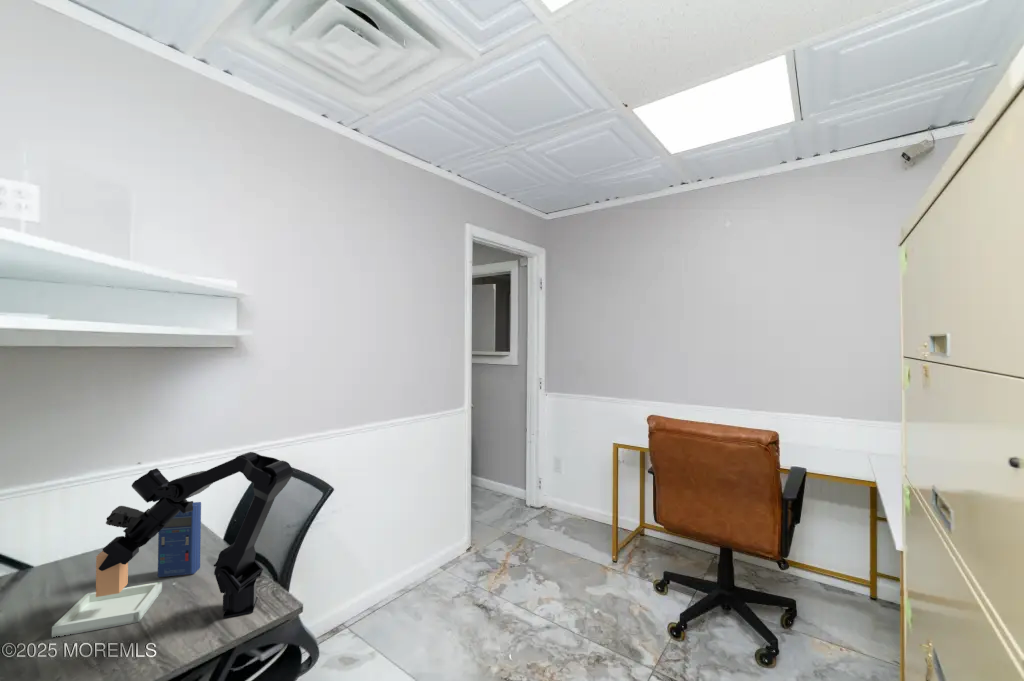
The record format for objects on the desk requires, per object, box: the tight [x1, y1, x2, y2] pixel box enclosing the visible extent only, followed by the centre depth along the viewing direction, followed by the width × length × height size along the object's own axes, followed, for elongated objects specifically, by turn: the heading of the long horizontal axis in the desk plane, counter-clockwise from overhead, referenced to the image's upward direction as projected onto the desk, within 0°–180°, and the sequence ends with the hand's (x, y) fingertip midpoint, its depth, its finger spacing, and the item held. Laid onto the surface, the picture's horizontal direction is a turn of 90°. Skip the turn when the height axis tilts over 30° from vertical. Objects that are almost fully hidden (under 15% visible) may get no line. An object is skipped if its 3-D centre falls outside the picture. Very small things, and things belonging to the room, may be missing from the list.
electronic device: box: [157, 501, 202, 578], centre depth 126 cm, size 10×5×20 cm, turn 102°
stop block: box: [95, 550, 129, 597], centre depth 107 cm, size 4×4×10 cm
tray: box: [51, 581, 163, 639], centre depth 107 cm, size 16×14×2 cm
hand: (105, 564), depth 107 cm, fingers closed on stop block, 4 cm apart
